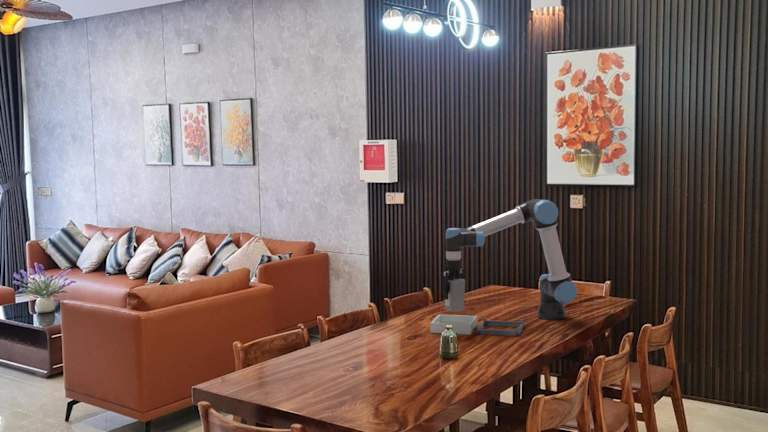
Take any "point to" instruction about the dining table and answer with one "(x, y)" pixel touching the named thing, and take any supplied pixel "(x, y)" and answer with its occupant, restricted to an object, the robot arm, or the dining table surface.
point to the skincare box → (456, 295)
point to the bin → (454, 324)
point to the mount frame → (486, 322)
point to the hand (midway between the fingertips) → (453, 304)
